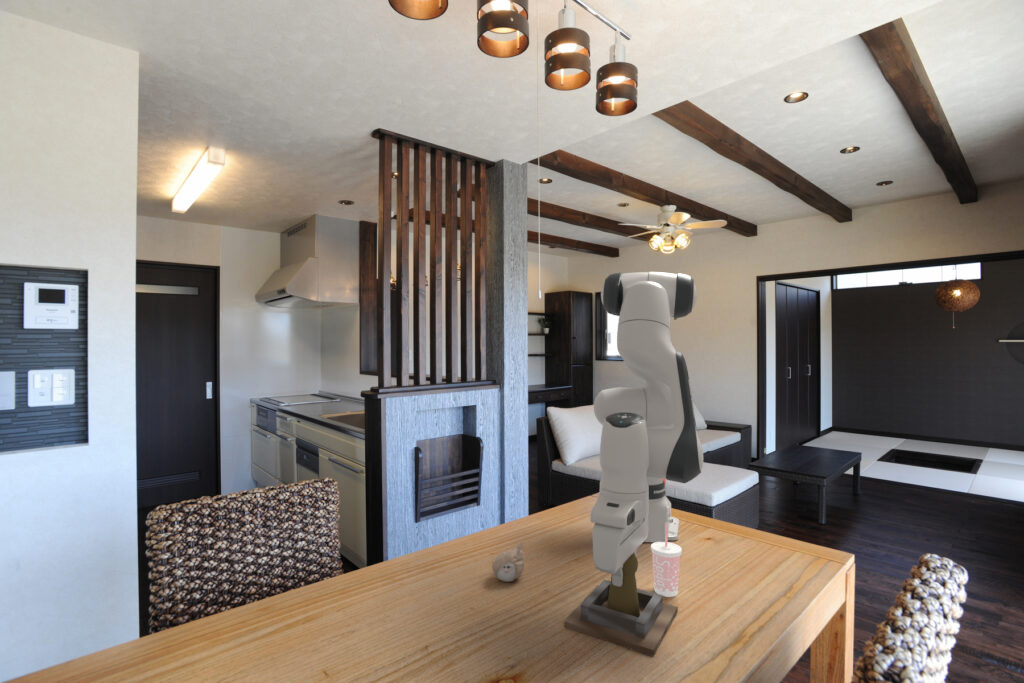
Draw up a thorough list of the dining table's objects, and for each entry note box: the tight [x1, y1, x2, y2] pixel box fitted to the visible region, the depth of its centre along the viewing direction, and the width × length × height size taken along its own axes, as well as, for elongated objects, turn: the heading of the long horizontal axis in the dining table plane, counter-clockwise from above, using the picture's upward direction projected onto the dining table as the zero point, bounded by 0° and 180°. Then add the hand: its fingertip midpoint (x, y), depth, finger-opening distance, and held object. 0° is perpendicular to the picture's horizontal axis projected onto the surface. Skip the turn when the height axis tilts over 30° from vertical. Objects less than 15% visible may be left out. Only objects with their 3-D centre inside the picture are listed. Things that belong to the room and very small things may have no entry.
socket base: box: [563, 579, 679, 657], centre depth 92 cm, size 16×16×4 cm
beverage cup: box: [650, 522, 683, 598], centre depth 103 cm, size 6×6×14 cm
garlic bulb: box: [492, 541, 525, 583], centre depth 107 cm, size 7×6×8 cm
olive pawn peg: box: [607, 554, 640, 617], centre depth 92 cm, size 6×6×11 cm
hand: (623, 578), depth 92 cm, fingers closed on olive pawn peg, 4 cm apart
